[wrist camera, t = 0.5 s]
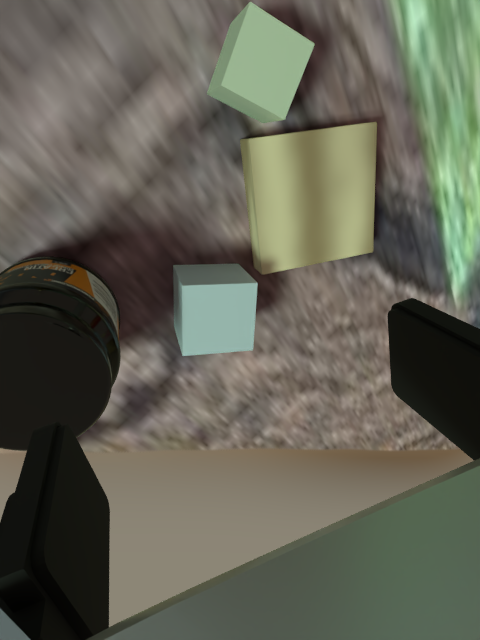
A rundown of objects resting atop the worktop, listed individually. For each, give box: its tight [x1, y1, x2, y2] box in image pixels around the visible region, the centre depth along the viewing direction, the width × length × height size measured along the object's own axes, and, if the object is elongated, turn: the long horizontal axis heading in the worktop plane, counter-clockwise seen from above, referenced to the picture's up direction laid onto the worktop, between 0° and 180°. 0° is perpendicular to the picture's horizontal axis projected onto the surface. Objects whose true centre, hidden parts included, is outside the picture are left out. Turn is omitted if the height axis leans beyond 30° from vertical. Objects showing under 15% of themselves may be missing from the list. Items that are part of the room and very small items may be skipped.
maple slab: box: [240, 122, 377, 275], centre depth 35 cm, size 11×11×3 cm
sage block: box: [207, 2, 315, 123], centre depth 28 cm, size 5×5×5 cm
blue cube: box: [173, 264, 258, 356], centre depth 34 cm, size 6×6×6 cm
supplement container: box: [0, 257, 120, 451], centre depth 29 cm, size 10×10×12 cm
